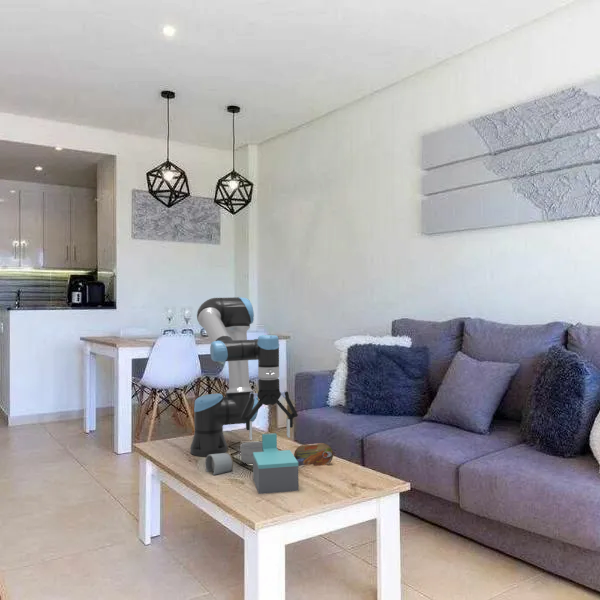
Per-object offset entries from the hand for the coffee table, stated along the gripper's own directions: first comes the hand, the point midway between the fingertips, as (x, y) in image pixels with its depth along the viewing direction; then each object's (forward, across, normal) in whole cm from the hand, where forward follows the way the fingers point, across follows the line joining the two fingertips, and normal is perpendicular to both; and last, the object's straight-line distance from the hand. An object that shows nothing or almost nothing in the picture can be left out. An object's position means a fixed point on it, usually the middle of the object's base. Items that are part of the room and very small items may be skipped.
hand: (269, 438), depth 196 cm
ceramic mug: (+14, -18, +8) cm, 24 cm away
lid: (+6, 0, -9) cm, 11 cm away
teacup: (+14, -2, +16) cm, 21 cm away
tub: (+14, 0, -12) cm, 18 cm away
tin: (+14, +18, +9) cm, 24 cm away
